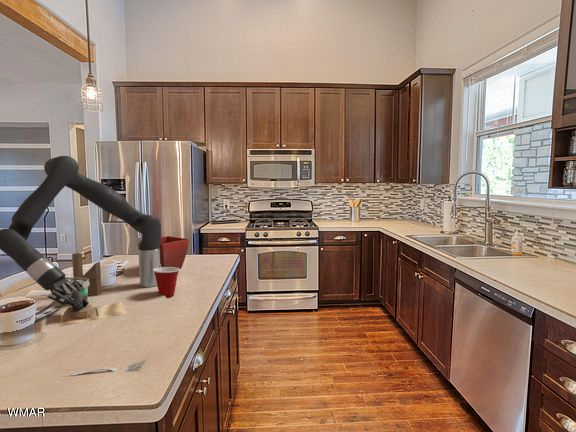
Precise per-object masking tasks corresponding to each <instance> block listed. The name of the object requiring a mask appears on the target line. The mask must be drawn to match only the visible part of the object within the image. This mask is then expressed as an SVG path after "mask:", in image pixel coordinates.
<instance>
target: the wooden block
mask: <svg viewBox="0 0 576 432" xmlns="http://www.w3.org/2000/svg"><path fill="white" fill-rule="evenodd" d="M71 260H72V263H71V264H72V275H73V277H72V278H78V277H81V278H87V279H88V280H89V283H90V285H89V286H88V295H87V296H98V295H100V294H102V278H101V276H102V275H101V261H97V262H95V263H94V264H93V265H92V266H91V267H90V268H89V269H88V270H87V271H86V272H85V273H83V272H84V268H83V254H82V252H74V253H72V254H71Z"/></svg>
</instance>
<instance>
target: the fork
mask: <svg viewBox="0 0 576 432" xmlns="http://www.w3.org/2000/svg"><path fill="white" fill-rule="evenodd" d="M146 361H147V359H143V360H141V361H137V362H134V363H132V364H128V365H125V367H124V369H123V371H122V372H123V373H126V372H130V371H132V370H135V369H138V368H139V367H141V366H145V364H146ZM103 370H107V371H111V372H113V373H116V372H117V370H118V367H100V368H95V369H89V370H83V371H77V372H76V371H75V372H71V373H72V375H76V376H79V374H80V375H84V373H85V374H89V373H92V372H93V373H94V372H97V371H103Z"/></svg>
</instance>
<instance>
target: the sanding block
mask: <svg viewBox="0 0 576 432" xmlns="http://www.w3.org/2000/svg"><path fill="white" fill-rule="evenodd" d="M72 297H73V298H74V300H77V301H78V302H79V303H80V304H81V305H82V306H83V291H75V292H72ZM91 307H92V304H88V305H87V306H86V307H83V308H82V309H81V310H80V311H77V310H75V309H74V308H73V307H72V306H71V305H69V306H68V307H67V308H66V309H65V311H63V312H64V321H66V320H76V319H85V318H88V316H89V315H90V313H91V311H92V309H91Z"/></svg>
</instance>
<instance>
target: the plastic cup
mask: <svg viewBox="0 0 576 432" xmlns="http://www.w3.org/2000/svg"><path fill="white" fill-rule="evenodd" d="M153 271H154V274H155V277H156V282H157V286H156V287H157V290H158V294H159V295H162V296H164V297H165V299H166V298H167V299H168V298H172V297H174V296H175V293H176V285H177V281H178V275H179V271H180V269H179V268H176V267H161V268H155V269H153Z"/></svg>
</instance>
